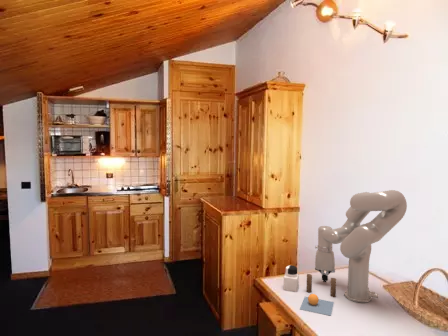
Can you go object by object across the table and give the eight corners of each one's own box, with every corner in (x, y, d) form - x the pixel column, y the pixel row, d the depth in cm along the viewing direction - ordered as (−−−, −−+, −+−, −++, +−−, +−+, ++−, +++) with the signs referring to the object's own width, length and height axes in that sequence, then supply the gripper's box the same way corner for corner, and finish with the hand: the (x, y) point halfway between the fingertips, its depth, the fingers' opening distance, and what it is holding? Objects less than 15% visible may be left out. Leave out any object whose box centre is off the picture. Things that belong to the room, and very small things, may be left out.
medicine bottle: (298, 286, 175) (299, 265, 175) (297, 292, 169) (297, 269, 168) (285, 284, 178) (285, 263, 177) (283, 290, 171) (283, 268, 170)
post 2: (336, 295, 165) (336, 278, 165) (335, 297, 163) (336, 280, 162) (330, 294, 166) (331, 277, 166) (330, 296, 164) (330, 279, 163)
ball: (317, 308, 154) (319, 299, 158) (317, 302, 151) (319, 293, 155) (307, 305, 156) (309, 296, 160) (306, 299, 153) (308, 290, 157)
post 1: (311, 291, 170) (312, 274, 170) (311, 293, 168) (311, 276, 167) (306, 290, 171) (307, 273, 171) (306, 292, 169) (306, 275, 168)
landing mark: (333, 302, 158) (333, 301, 158) (330, 315, 145) (330, 315, 145) (304, 296, 163) (304, 296, 163) (299, 309, 151) (299, 309, 151)
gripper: (310, 249, 177) (310, 281, 178) (338, 252, 171) (338, 286, 172) (312, 245, 184) (312, 277, 185) (340, 248, 178) (339, 281, 179)
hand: (324, 281), depth 178 cm, fingers closed
